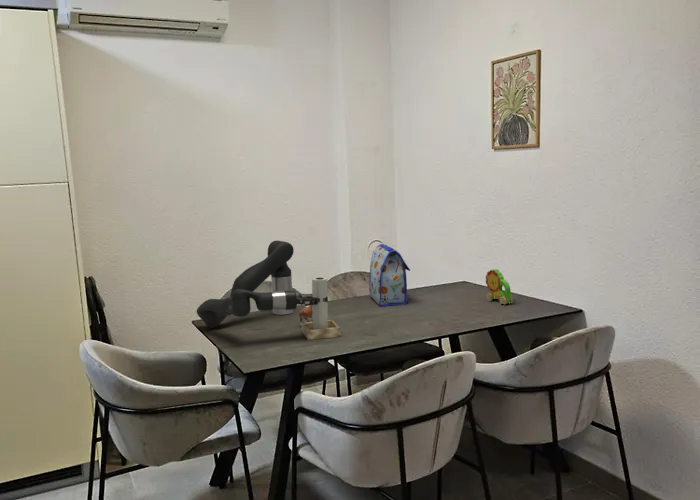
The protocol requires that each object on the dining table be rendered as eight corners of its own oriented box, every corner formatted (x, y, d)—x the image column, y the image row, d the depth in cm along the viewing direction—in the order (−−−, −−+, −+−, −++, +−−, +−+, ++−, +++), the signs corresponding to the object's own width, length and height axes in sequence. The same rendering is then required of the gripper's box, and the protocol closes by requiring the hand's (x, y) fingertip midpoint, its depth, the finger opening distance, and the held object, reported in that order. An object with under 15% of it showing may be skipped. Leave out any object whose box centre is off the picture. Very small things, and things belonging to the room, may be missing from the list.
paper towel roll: (321, 328, 252) (320, 276, 249) (330, 331, 247) (330, 278, 245) (307, 331, 247) (306, 278, 244) (317, 334, 242) (316, 280, 240)
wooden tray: (307, 340, 240) (307, 331, 240) (301, 331, 252) (301, 323, 252) (340, 336, 243) (340, 327, 243) (332, 328, 256) (332, 319, 255)
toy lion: (513, 304, 283) (513, 271, 281) (504, 306, 281) (504, 273, 279) (492, 298, 298) (491, 267, 296) (482, 299, 296) (482, 268, 293)
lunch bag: (413, 304, 292) (411, 248, 288) (379, 307, 288) (377, 250, 284) (398, 294, 314) (397, 242, 310) (367, 297, 310) (365, 244, 306)
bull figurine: (318, 319, 271) (317, 301, 269) (306, 327, 258) (305, 308, 257) (309, 319, 272) (308, 301, 271) (296, 327, 259) (295, 308, 258)
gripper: (280, 306, 249) (322, 304, 254) (286, 313, 236) (330, 311, 240) (280, 288, 248) (322, 286, 253) (286, 294, 235) (330, 292, 239)
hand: (326, 298), depth 246 cm, fingers closed on paper towel roll, 3 cm apart
